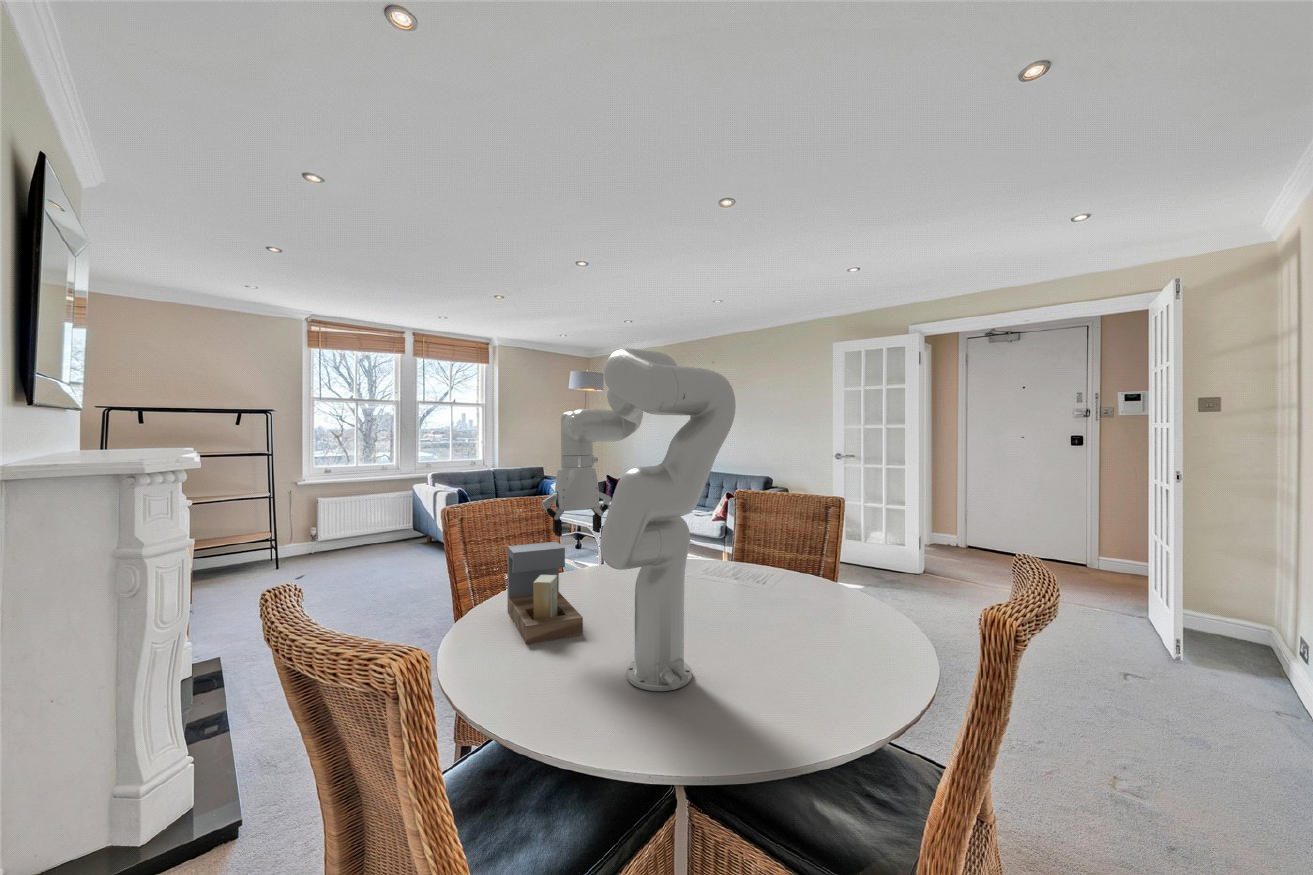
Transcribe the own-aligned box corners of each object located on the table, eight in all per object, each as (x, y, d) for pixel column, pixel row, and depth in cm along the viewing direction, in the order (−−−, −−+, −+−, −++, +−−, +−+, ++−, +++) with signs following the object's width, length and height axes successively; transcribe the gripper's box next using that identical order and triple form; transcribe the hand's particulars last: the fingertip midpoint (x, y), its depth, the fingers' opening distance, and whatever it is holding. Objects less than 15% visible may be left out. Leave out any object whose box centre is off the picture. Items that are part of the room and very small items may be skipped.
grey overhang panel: (564, 613, 136) (564, 547, 135) (513, 621, 130) (513, 552, 130) (556, 604, 143) (556, 541, 143) (507, 611, 137) (507, 546, 137)
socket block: (582, 634, 122) (582, 617, 122) (526, 644, 116) (526, 626, 116) (558, 606, 141) (558, 591, 141) (508, 613, 135) (508, 598, 135)
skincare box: (540, 623, 129) (540, 573, 128) (558, 624, 128) (558, 574, 128) (532, 634, 122) (532, 581, 122) (551, 634, 122) (551, 582, 122)
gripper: (604, 461, 134) (605, 528, 134) (537, 463, 126) (538, 534, 126) (616, 462, 128) (616, 532, 128) (546, 464, 120) (547, 540, 120)
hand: (577, 533), depth 127 cm, fingers open, 9 cm apart
